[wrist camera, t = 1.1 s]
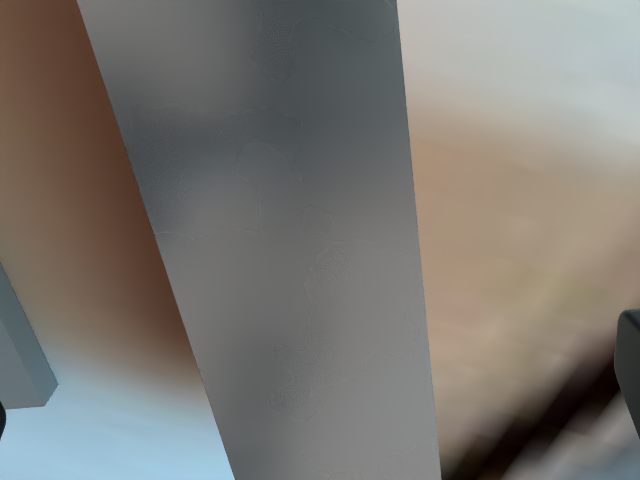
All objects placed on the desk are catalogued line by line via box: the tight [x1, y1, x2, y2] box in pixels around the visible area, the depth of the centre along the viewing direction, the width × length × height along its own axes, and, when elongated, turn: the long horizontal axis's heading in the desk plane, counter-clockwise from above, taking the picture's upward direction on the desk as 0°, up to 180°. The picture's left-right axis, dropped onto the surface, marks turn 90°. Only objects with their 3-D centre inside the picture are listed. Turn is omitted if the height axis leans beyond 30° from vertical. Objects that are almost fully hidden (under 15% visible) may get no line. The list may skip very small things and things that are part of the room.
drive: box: [77, 0, 441, 480], centre depth 13 cm, size 16×4×7 cm, turn 9°
